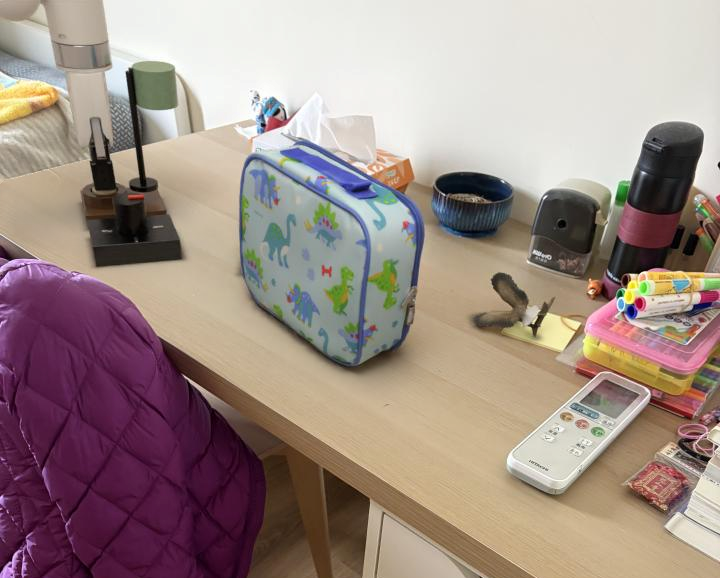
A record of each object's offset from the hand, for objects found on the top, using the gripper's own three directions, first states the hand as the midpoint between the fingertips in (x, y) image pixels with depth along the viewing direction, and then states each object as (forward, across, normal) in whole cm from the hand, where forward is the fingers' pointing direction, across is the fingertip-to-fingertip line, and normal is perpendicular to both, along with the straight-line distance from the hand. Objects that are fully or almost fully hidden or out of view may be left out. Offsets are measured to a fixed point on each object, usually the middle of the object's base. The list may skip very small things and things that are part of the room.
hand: (105, 188), depth 111 cm
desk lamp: (0, 0, +8) cm, 8 cm away
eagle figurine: (+5, +46, +47) cm, 66 cm away
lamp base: (+4, 0, +2) cm, 5 cm away
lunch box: (+4, +40, +23) cm, 46 cm away
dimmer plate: (+4, +13, +2) cm, 14 cm away
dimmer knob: (+1, +13, +2) cm, 13 cm away
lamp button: (+2, 0, 0) cm, 2 cm away
